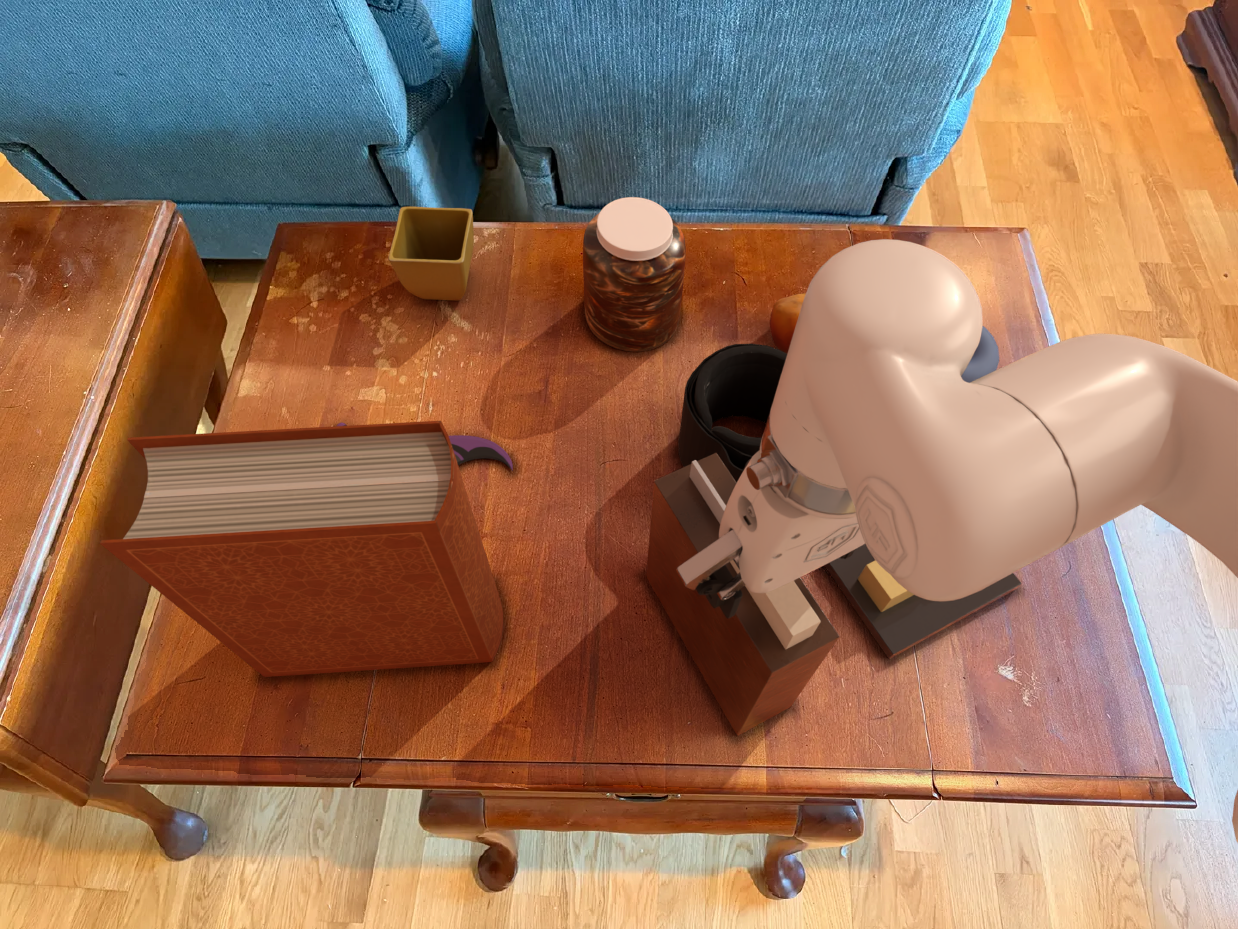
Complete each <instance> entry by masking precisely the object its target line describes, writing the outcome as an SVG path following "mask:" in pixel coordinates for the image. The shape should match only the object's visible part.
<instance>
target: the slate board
mask: <svg viewBox="0 0 1238 929" xmlns="http://www.w3.org/2000/svg"><path fill="white" fill-rule="evenodd" d="M873 561H875V559H874V557H873V556H872V554H871V553H870V551H869V550H868V548H867V546H866V544H863V545H862V546H860V547H858V548H856V549H855V551H854V553H853V554H852V556H850V557H849V558H847V559H843V558H842V559H841V558H840V557H839V558H837V559H835V560H833V561H831V562H829V563H827V564H825V565H824V568H825V569H826V571H827V572H828V573H829V575H830V576H831V578H832V579H833V581H834V582H835V584H836V585H837V586H838V588H839V589H840V592H842V594H843V595H844V597H845V598H846V599H847V601H848V602H849V604H850V605H851V607H852V608H853V609H854V611H855V612H856V613H857V615H858V617H859V618H860V620H861V621H862V622H863V624H864V626H865V627H866V629H867V630H868V632H870V634H871V635H872V637H873V639H875V641H876V642H877V645H879V648H881V650H882V652H883V653H884V654H885V656H886V657H887V658H888V659H889V660H891V659H892V658H894V657H895V656H898V655H900V654H901V653H904V651H907V650H909V649H910V648H912V647H914V646H916V645H918V644H919V643H921V642H923V641H925V640H926V639H928V638H930V637H932V636H934V635H936V634H938V633H940V632H941V631H943V630H945V629H947V628H948V627H950V626H952V625H954V624H956V623H957V622H959V621H961V620H963V619H965V618H966V617H968V616H970V615H972V614H974V613H976V612H978V611H980V610H981V609H983V608H985V607H986V606H988V605H990V604H992V603H994V602H996V601H998V600H1000V599H1001V598H1003V597H1005V596H1007V595H1008V594H1010V593H1012V592H1014V591H1016V590H1017V589H1018V588H1020V587H1021V585H1022V582H1021V581H1020V579H1019V578H1018V577H1017V576H1016V574H1015V572H1014V573H1012V574H1010V575H1008V576H1007V577H1005V578H1003V579H1001V580H999V581H997V582H995V583H994V584H992V585H990V586H988V587H986V588H984V589H983V590H981V591H978V592H976V593H973V594H971V595H968V596H966V597H963V598H961V599H957V600H951V601H931V600H926V599H924V598H921V597H918V596H916V595H913V596H911V597H909V598H907V599H905V600H903V601H902V602H900V603H898V604H896V605H894V606H892V607H890V608H888V609H887V610H885V611H883V612H881V611H880V610H879V609H878V607H877V606H876V604H875V603H874V602H873V600H872V599H871V597H870V596H869V594H868V593H867V592H866V590H865V589H864V587H863V586H862V585H861V583H860V582H859V580H858V577H859V576H860V574H861V573H862V571H863V570H864V568H865V567H866V565H867V564H869V563H871V562H873Z"/></svg>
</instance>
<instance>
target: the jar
mask: <svg viewBox="0 0 1238 929" xmlns="http://www.w3.org/2000/svg"><path fill="white" fill-rule="evenodd" d="M686 249H687V248H686V239H685V235H684V232H683V230H682V229H681V227H680V225H679V224H678V223H677V222H676V220H674V218H673V217H671V215H670V213H669V212H668V210H666V209H665V208H664V207H663V206H662V205H660V204H658V203H657V202H655V201H653V200H651V199H648V198H645V197H638V196H637V197H636V196H630V197H628V196H627V197H621V198H618V199H615V200H613V201H611V202H609V203H607V204H606V205H605V206H603V207H602V209H601V210H600V212H598V213H597V214H595V216H594V217H593V218H592V219H591V220H590V221H589V222H588V224H587V226H586V228H585V230H584V233H583V238H582V276H583V277H582V278H583V299H584V300H583V301H584V314H585V315H584V316H585V321H586V323H587V326H588V328H589V330H590V331H591V333H592V334H593V335H594V336H595V337H596V339H598V340H599V341H601V342H602V343H604V344H605V345H607V346H609V347H611V348H613V349H615V350H619V351H623V352H632V353H633V352H647V351H651V350H654V349H656V348H658V347H661V346H662V345H664V344H666V343H667V342H668V341H670V339H671V338H672V337H673V336H674V335H675V333H676V332H677V330H678V327H679V324H680V318H681V312H682V303H683V302H682V301H683V290H684V281H685V269H686V251H687V250H686Z"/></svg>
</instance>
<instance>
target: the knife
mask: <svg viewBox="0 0 1238 929" xmlns="http://www.w3.org/2000/svg"><path fill="white" fill-rule="evenodd" d="M336 426H348V425H347V424H346V423H345V422H339V423H338V424H336ZM448 436H449V439H450V442H451V445H452V448H453V451H454V454H455V457H456V460H457V463H458V466H460V465H461V464H464V463H466V462H469V461H473V460H479V459H490V460H496V461H499V462H500V463H502V464H504V465H505V466H507V467H508V469H510V470H511V471H512V472H514V471H513V470H514V465H513V461H512V459H511V456H510V455H509V454H508V452H507V451H506V450H505V448H503V447H501V446H500V445H499V444H497V443H496V442H494V441H492V440H490V439H487V438H483V437H479V436H473V435H463V434H462V435H461V434H459V435H457V434H455V435H448Z"/></svg>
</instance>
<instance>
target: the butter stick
mask: <svg viewBox="0 0 1238 929" xmlns="http://www.w3.org/2000/svg"><path fill="white" fill-rule="evenodd" d="M858 580H859V582H860V583H861V585H862V586H863V587H864V589H865V590H866V592H867V593H868V594H869V596H870V597H871V599H872V600H873V602H874V603H875V604H876V606H877V607H878V609H879V610H880V611H881V612H883V611H885V610H887V609H888V608H890V607H892V606H894V605H896V604H898V603H900V602H902V601H903V600H905V599H907V598H909V597H911V596H913V595H914V594H912V593H911V592H909V591H908V590H906V589H905V588H904V587H902V586H901V585H900V584H899V583H898V582H897V581H896V580H895V579H894V578H893V577H892V576H891V575H890V574H889V573H888V572H887V571H885V570H884V569H883V568H882V567H881V566H880V565H879V564H878V563H877V561H876V560H875V561H873V562H871V563H869V564H867V565H866V567H865V568H864V570H863V571H862V573H861V574H860V576H859V577H858Z"/></svg>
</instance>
